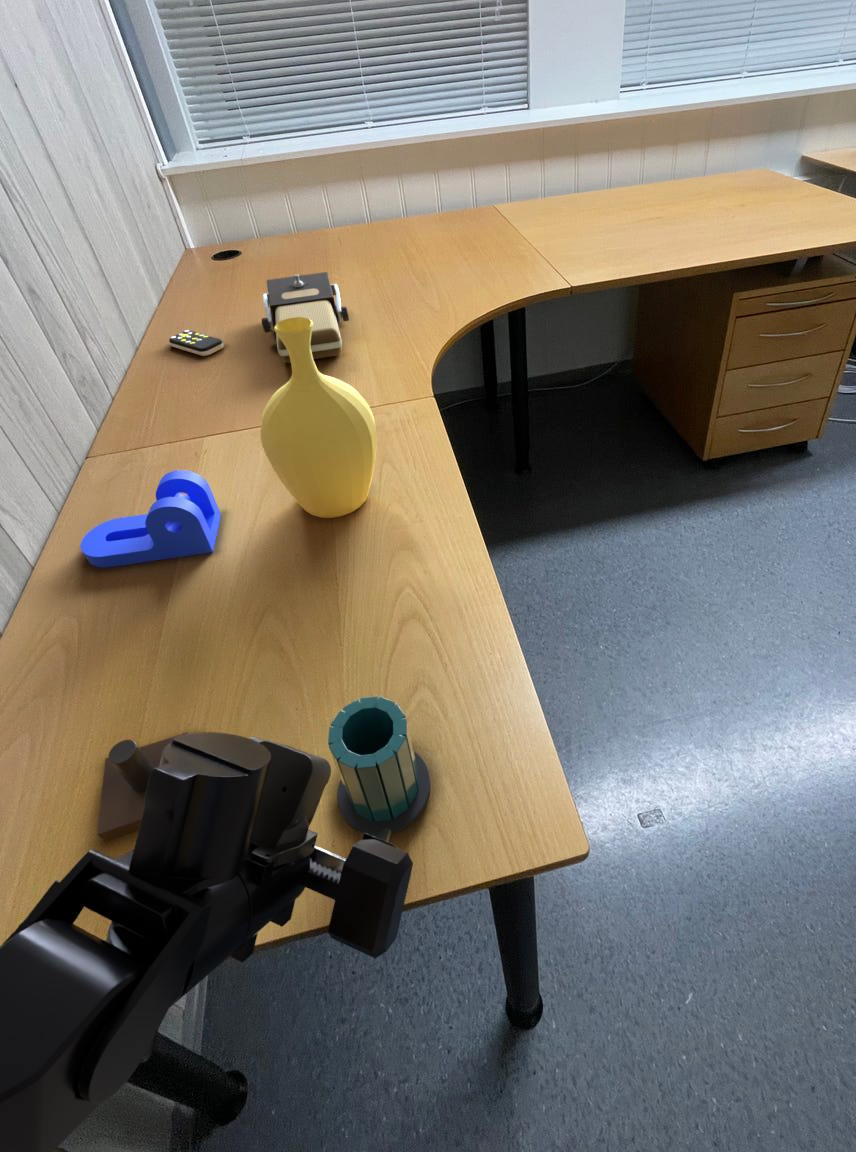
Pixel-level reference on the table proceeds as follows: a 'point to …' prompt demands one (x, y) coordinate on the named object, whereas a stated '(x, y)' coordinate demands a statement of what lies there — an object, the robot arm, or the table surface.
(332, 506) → the vase
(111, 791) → the stand
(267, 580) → the table surface
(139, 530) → the bracket
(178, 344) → the remote control
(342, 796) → the pad
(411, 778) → the slatted teal pen holder
